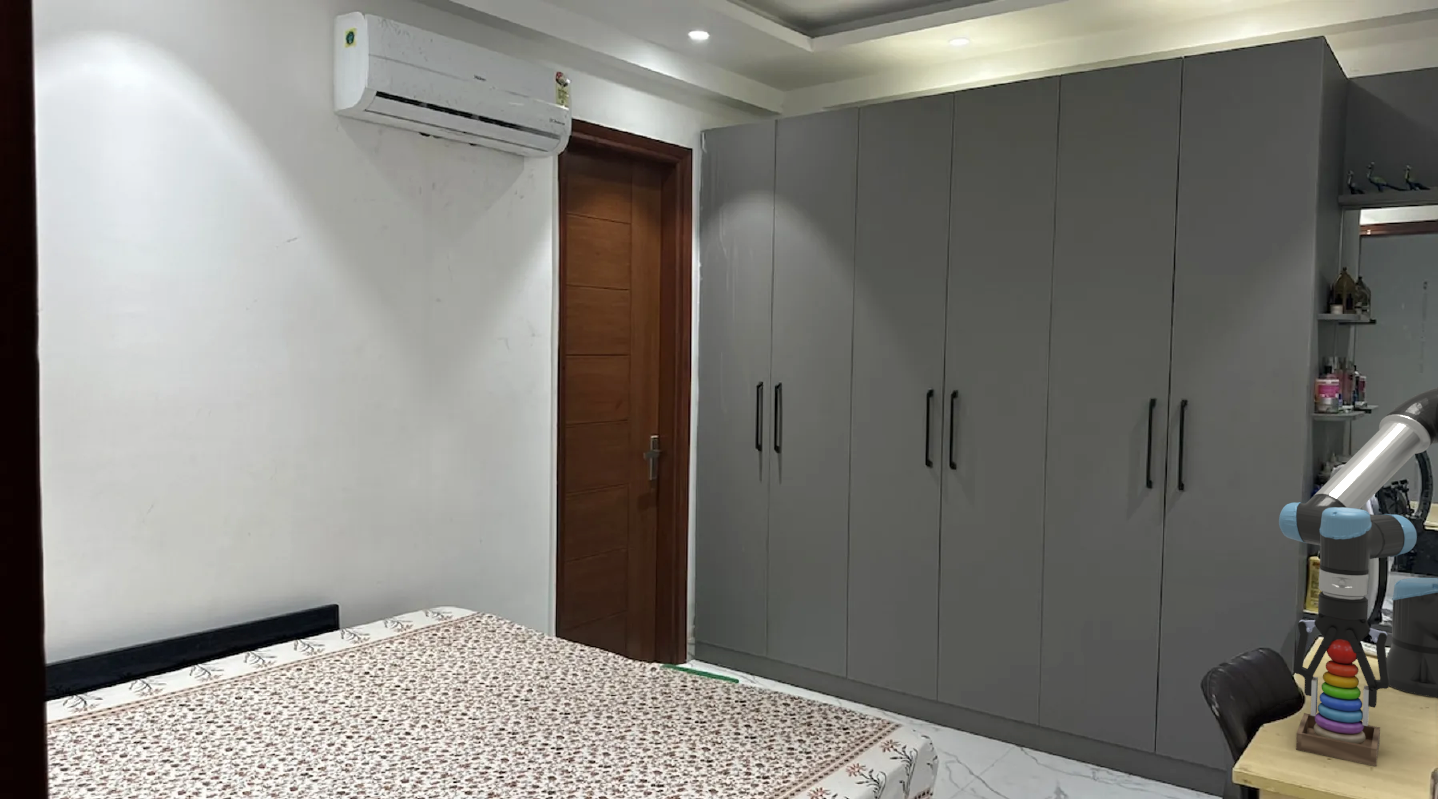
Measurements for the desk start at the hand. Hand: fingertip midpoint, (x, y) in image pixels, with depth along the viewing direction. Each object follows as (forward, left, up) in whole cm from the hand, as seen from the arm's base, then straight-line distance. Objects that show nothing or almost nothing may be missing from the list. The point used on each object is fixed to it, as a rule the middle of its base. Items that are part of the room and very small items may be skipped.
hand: (1339, 718), depth 177 cm
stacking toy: (0, 0, -4) cm, 4 cm away
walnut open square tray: (0, 0, -5) cm, 5 cm away
